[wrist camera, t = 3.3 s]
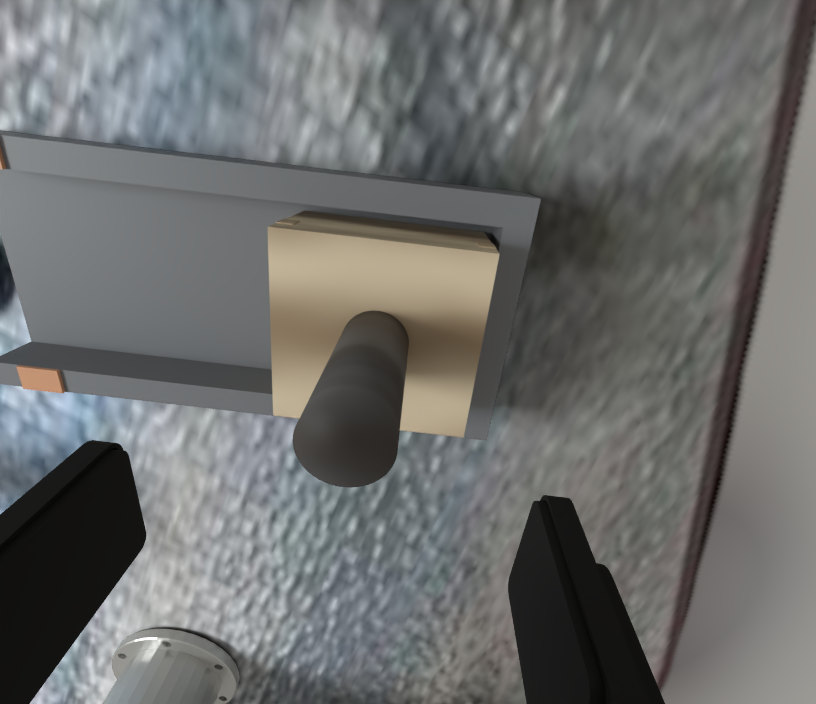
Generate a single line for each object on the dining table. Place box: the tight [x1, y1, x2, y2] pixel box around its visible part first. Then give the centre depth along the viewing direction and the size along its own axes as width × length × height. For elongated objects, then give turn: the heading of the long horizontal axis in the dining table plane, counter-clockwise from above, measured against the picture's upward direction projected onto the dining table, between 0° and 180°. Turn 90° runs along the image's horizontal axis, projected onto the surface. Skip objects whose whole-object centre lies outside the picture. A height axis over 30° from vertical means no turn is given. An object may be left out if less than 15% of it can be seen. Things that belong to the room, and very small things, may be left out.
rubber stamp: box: [267, 211, 500, 487], centre depth 19 cm, size 10×10×14 cm
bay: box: [0, 131, 541, 440], centre depth 25 cm, size 14×30×4 cm, turn 84°
